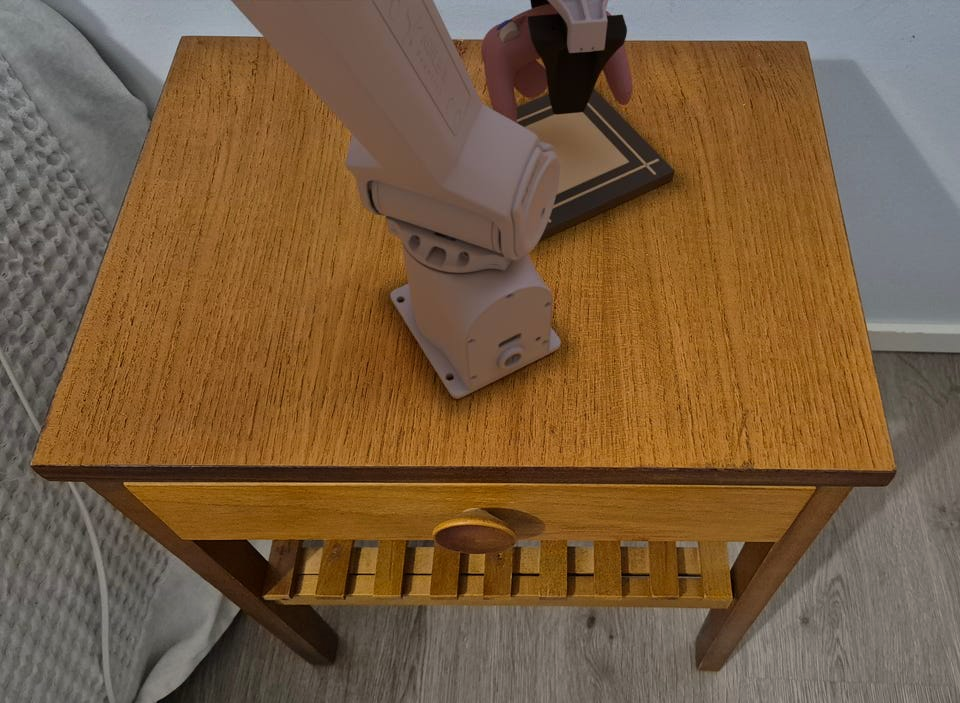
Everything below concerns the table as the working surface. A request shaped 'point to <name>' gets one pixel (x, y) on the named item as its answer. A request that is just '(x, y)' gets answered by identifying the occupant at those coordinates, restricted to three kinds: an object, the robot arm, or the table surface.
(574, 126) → the board
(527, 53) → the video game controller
